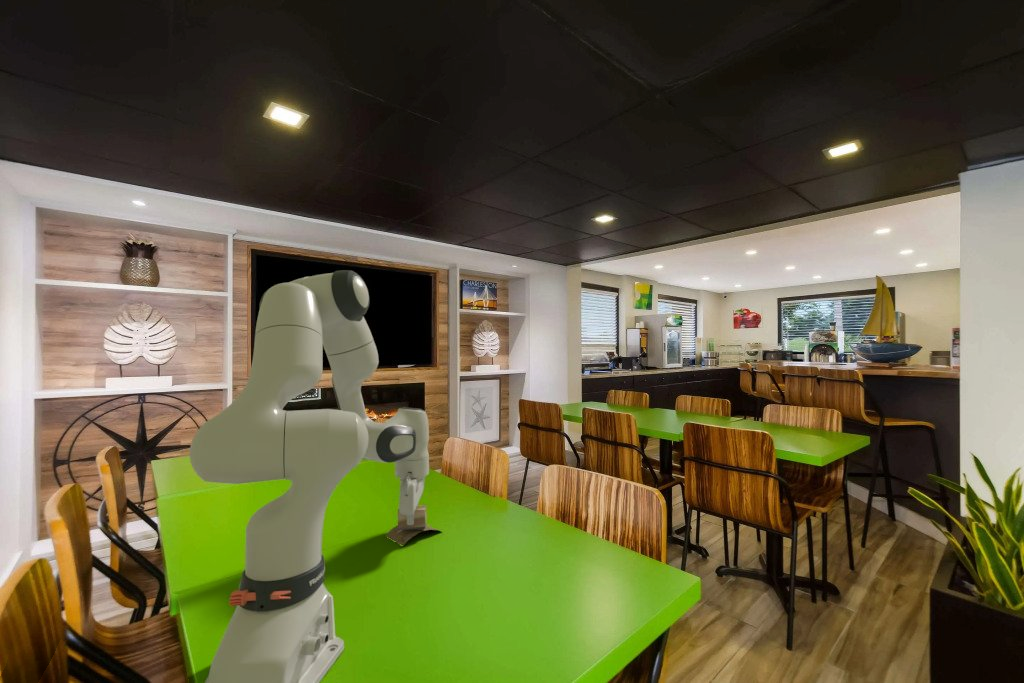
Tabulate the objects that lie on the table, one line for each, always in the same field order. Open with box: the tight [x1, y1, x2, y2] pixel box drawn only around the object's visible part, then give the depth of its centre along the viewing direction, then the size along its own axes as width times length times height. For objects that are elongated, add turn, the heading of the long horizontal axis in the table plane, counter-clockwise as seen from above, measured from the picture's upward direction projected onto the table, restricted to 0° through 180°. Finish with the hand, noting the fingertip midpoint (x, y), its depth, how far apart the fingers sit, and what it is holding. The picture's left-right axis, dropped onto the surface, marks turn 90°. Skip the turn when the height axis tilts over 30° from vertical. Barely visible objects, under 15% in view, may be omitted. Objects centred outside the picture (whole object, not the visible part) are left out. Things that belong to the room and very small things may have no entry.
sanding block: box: [397, 504, 427, 530], centre depth 117 cm, size 4×7×5 cm, turn 95°
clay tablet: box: [385, 524, 437, 547], centre depth 119 cm, size 14×10×3 cm
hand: (412, 520), depth 117 cm, fingers closed on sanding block, 3 cm apart
